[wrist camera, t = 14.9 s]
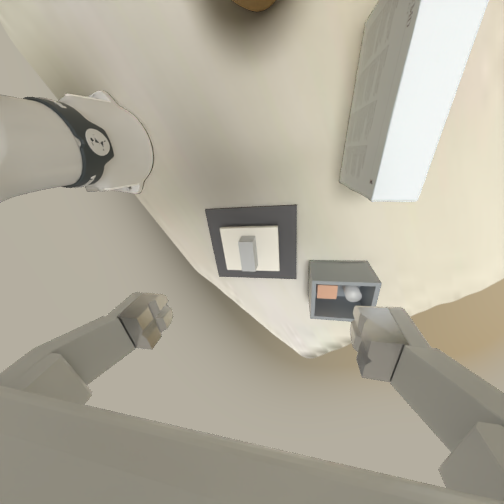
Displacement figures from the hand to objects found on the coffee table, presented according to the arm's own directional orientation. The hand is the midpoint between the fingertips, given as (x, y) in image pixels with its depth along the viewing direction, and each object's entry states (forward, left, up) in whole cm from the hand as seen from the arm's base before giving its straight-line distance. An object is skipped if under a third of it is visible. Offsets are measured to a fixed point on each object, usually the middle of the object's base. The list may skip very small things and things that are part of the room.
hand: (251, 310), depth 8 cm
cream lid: (-8, -13, -34) cm, 37 cm away
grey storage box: (+11, -22, -34) cm, 42 cm away
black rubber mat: (-8, -13, -34) cm, 37 cm away
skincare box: (+13, +10, -34) cm, 38 cm away
